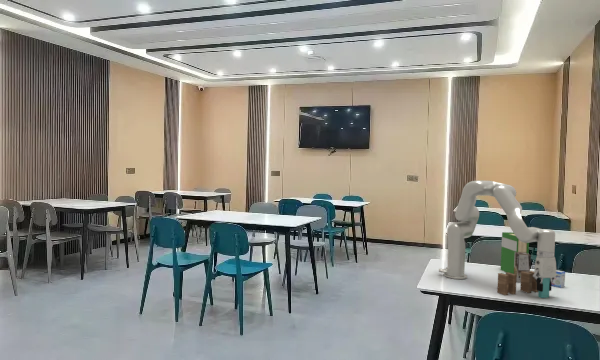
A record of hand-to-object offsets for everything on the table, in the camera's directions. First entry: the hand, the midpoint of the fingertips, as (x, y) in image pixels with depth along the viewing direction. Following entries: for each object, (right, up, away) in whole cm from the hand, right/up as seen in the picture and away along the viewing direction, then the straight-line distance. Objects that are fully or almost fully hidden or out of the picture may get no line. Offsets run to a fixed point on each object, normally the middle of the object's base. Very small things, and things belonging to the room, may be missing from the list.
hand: (543, 290), depth 220 cm
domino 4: (0, -3, +11) cm, 11 cm away
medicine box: (+19, -4, +23) cm, 31 cm away
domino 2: (-14, -3, +6) cm, 15 cm away
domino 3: (-4, -3, +9) cm, 11 cm away
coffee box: (+4, -3, +31) cm, 31 cm away
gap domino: (0, -4, 0) cm, 4 cm away
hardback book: (+10, -3, +51) cm, 52 cm away
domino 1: (-19, -3, +4) cm, 20 cm away
